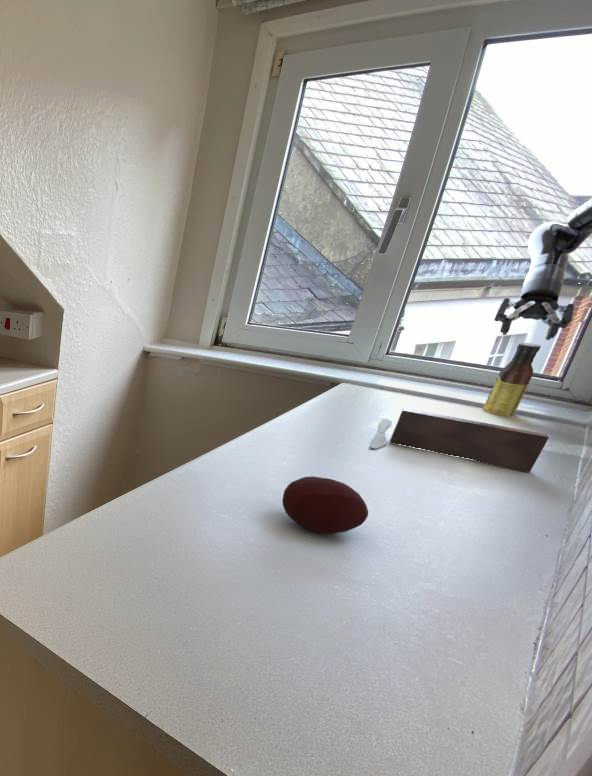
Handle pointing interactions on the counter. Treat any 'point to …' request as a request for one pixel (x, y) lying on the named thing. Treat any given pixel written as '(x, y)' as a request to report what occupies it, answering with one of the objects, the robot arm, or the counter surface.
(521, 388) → the sauce bottle
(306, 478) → the potato
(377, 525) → the counter surface
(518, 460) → the backsplash board
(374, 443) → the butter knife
